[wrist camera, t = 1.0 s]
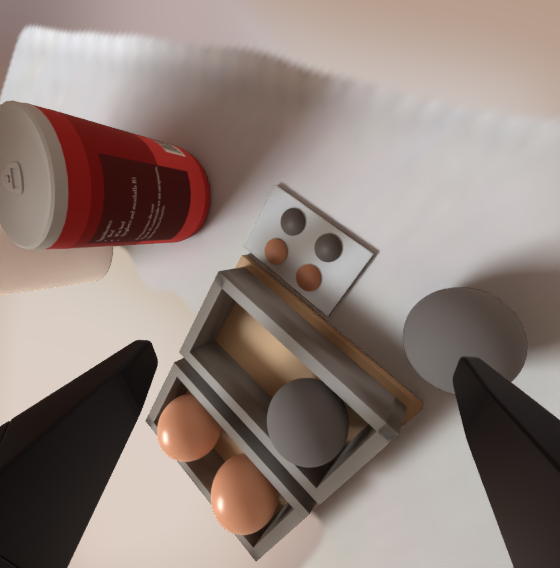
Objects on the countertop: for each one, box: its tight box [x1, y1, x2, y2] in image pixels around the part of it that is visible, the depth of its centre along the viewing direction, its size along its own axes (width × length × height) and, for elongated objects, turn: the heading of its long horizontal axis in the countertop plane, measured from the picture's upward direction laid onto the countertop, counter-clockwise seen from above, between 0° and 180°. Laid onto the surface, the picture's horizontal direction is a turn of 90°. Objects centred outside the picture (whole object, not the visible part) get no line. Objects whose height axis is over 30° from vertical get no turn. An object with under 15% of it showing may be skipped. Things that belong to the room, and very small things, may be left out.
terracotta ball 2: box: [211, 453, 279, 535], centre depth 23 cm, size 5×5×5 cm
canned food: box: [0, 101, 210, 250], centre depth 21 cm, size 8×8×11 cm
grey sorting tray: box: [146, 185, 423, 561], centre depth 22 cm, size 16×24×3 cm, turn 148°
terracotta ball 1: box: [157, 393, 222, 462], centre depth 25 cm, size 5×5×5 cm
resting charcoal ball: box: [267, 378, 349, 467], centre depth 19 cm, size 5×5×5 cm
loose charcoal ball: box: [403, 287, 527, 394], centre depth 14 cm, size 5×5×5 cm
